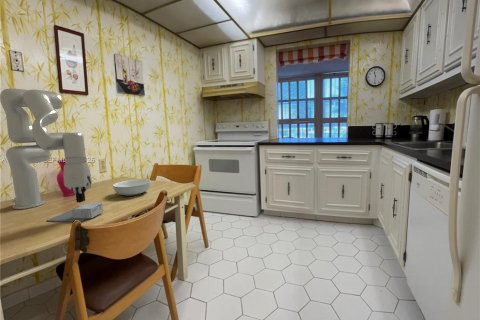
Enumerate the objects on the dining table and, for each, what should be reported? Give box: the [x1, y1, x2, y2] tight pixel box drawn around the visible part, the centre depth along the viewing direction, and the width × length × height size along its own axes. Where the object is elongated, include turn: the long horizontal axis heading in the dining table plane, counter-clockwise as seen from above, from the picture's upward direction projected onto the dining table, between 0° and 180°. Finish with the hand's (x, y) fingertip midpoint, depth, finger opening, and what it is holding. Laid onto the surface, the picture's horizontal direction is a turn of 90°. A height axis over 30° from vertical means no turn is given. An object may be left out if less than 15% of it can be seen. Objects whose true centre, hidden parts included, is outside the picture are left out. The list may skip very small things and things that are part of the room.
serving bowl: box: [112, 178, 152, 197], centre depth 142 cm, size 21×21×7 cm
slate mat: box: [45, 209, 89, 223], centre depth 107 cm, size 16×14×1 cm
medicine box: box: [71, 202, 104, 219], centre depth 105 cm, size 8×4×9 cm
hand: (81, 201), depth 106 cm, fingers closed
